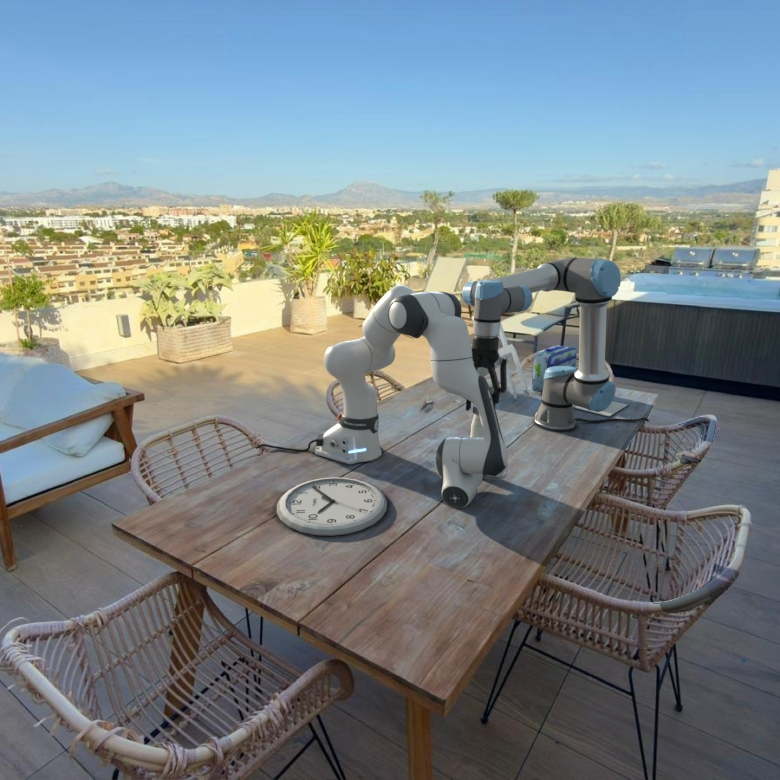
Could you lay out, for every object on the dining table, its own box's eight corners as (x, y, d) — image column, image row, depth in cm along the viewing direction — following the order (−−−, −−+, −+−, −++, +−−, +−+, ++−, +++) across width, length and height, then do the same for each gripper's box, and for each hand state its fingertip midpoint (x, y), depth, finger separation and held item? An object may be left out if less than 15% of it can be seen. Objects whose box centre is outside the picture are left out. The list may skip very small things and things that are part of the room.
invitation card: (608, 416, 214) (573, 407, 224) (608, 416, 214) (573, 408, 224) (628, 404, 229) (594, 396, 238) (628, 405, 229) (594, 397, 238)
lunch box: (548, 398, 236) (553, 353, 229) (527, 393, 243) (531, 349, 237) (575, 387, 253) (581, 344, 247) (555, 382, 260) (560, 341, 254)
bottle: (479, 478, 160) (484, 410, 153) (464, 474, 162) (469, 407, 156) (486, 472, 163) (492, 406, 157) (472, 468, 166) (477, 403, 160)
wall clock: (392, 527, 129) (268, 531, 127) (391, 533, 130) (269, 537, 127) (383, 473, 158) (282, 475, 155) (383, 478, 158) (282, 480, 156)
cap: (483, 416, 154) (484, 409, 153) (469, 412, 156) (470, 406, 156) (490, 412, 157) (491, 405, 157) (477, 408, 160) (477, 402, 159)
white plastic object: (461, 429, 252) (437, 405, 227) (444, 352, 274) (420, 323, 250) (535, 404, 240) (518, 377, 215) (510, 326, 262) (492, 293, 237)
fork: (418, 410, 217) (418, 406, 217) (428, 399, 232) (428, 395, 231) (424, 411, 216) (424, 406, 216) (434, 400, 231) (434, 395, 230)
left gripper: (505, 468, 145) (512, 450, 157) (434, 456, 152) (446, 439, 164) (503, 489, 147) (510, 469, 159) (433, 476, 154) (445, 458, 166)
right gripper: (523, 336, 149) (515, 412, 156) (457, 330, 157) (453, 402, 164) (517, 341, 143) (510, 420, 149) (448, 334, 151) (445, 409, 157)
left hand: (477, 454), depth 162 cm, fingers closed on bottle, 5 cm apart
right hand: (480, 411), depth 157 cm, fingers open, 7 cm apart
